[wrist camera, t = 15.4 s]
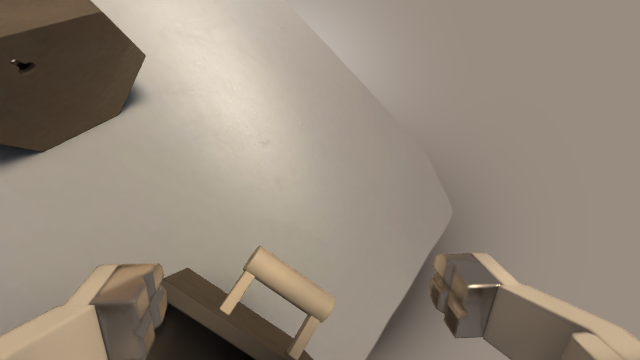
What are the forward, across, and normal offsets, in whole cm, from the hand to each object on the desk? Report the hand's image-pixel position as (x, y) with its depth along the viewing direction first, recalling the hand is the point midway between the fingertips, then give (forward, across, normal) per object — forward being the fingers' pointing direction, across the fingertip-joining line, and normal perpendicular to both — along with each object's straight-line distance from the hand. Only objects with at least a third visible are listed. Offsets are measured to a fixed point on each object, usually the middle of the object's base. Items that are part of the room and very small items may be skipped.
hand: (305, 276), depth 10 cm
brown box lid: (+11, +3, +13) cm, 17 cm away
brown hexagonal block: (+38, +29, +2) cm, 48 cm away
